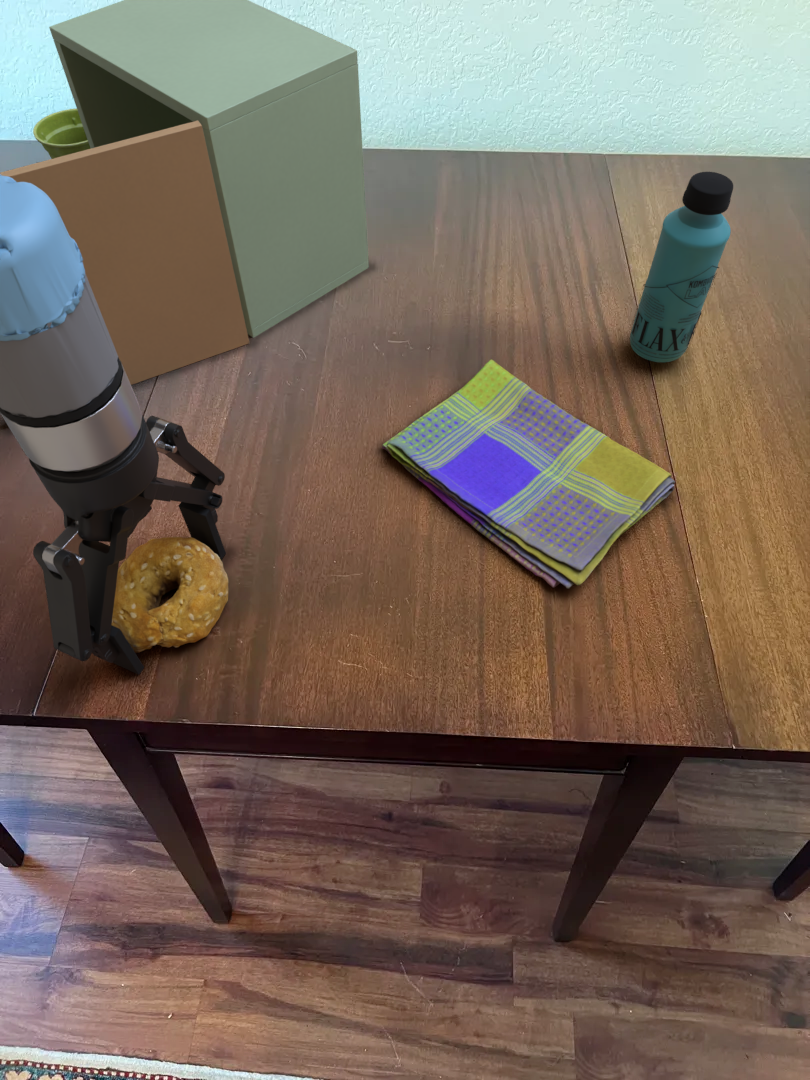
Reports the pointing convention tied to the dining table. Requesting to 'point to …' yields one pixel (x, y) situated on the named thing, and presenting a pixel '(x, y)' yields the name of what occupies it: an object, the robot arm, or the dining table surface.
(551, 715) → the dining table surface
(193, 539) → the bagel
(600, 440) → the dish towel
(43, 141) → the plant pot
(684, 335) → the beverage bottle
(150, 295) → the cupboard door
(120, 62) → the cupboard
